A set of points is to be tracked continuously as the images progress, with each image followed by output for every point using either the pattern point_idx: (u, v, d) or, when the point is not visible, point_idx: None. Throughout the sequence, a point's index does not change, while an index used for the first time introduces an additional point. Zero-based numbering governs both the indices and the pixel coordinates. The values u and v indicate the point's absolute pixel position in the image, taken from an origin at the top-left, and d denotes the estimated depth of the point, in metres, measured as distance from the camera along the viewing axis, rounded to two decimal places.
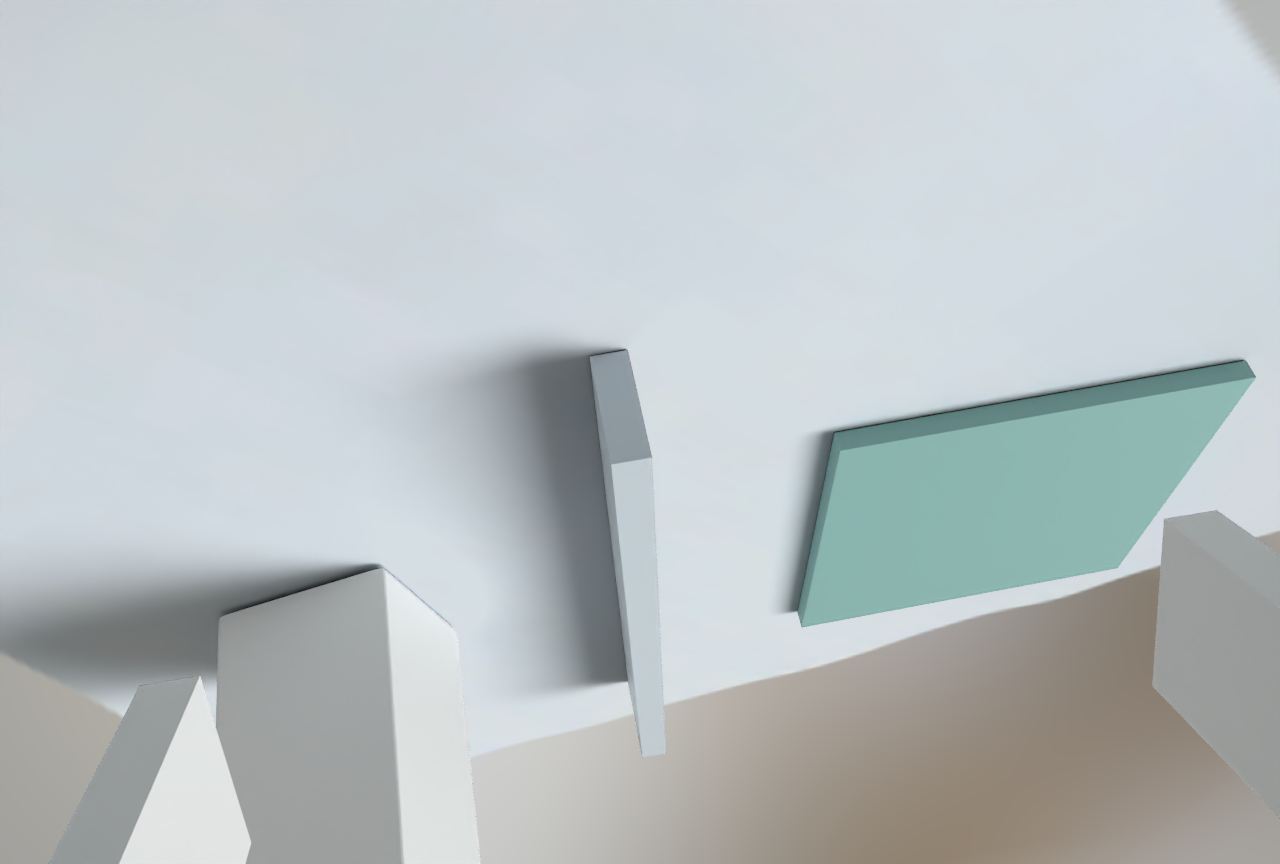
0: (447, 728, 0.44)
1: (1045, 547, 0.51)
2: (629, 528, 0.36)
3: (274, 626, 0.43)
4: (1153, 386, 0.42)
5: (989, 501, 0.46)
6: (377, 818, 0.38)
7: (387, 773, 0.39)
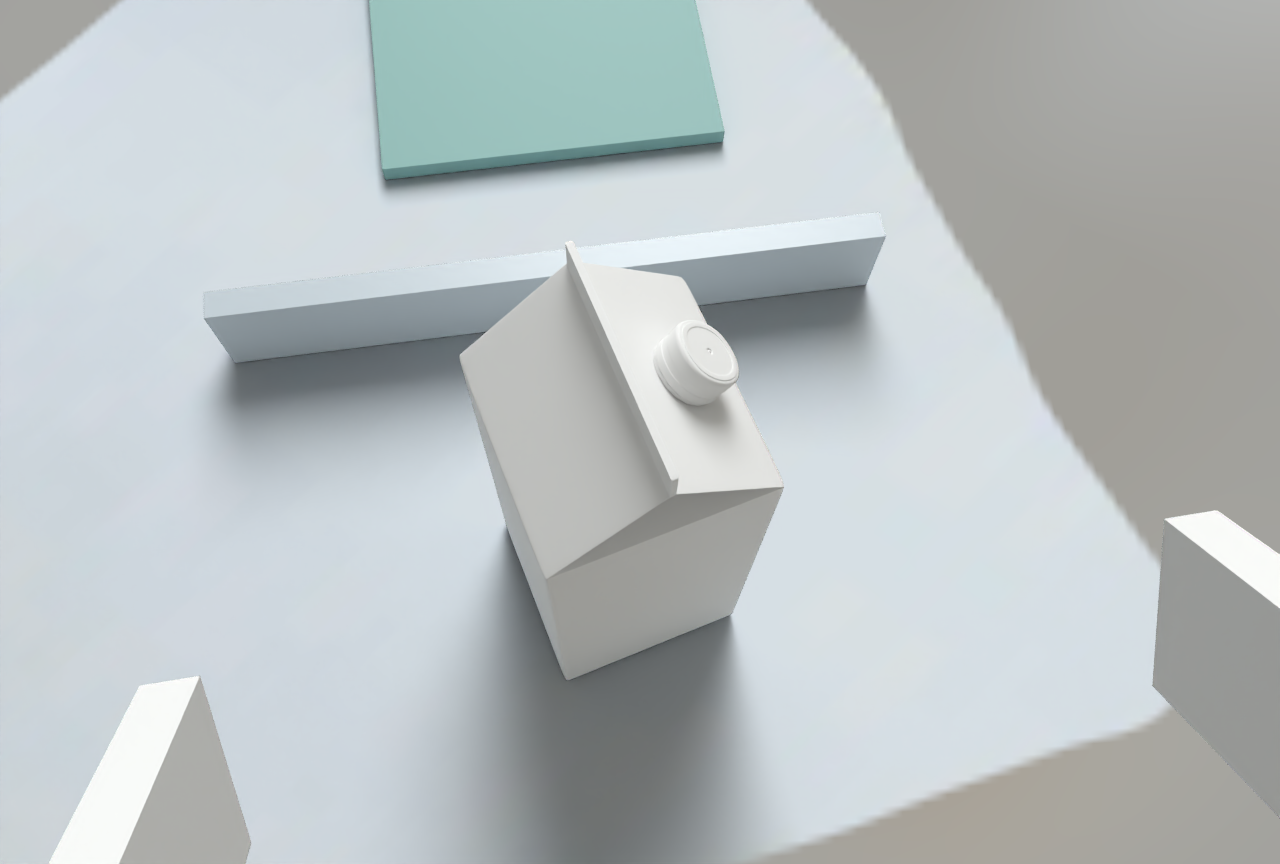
0: None
1: None
2: (305, 297, 0.45)
3: (541, 616, 0.43)
4: None
5: (502, 34, 0.55)
6: (486, 451, 0.37)
7: None
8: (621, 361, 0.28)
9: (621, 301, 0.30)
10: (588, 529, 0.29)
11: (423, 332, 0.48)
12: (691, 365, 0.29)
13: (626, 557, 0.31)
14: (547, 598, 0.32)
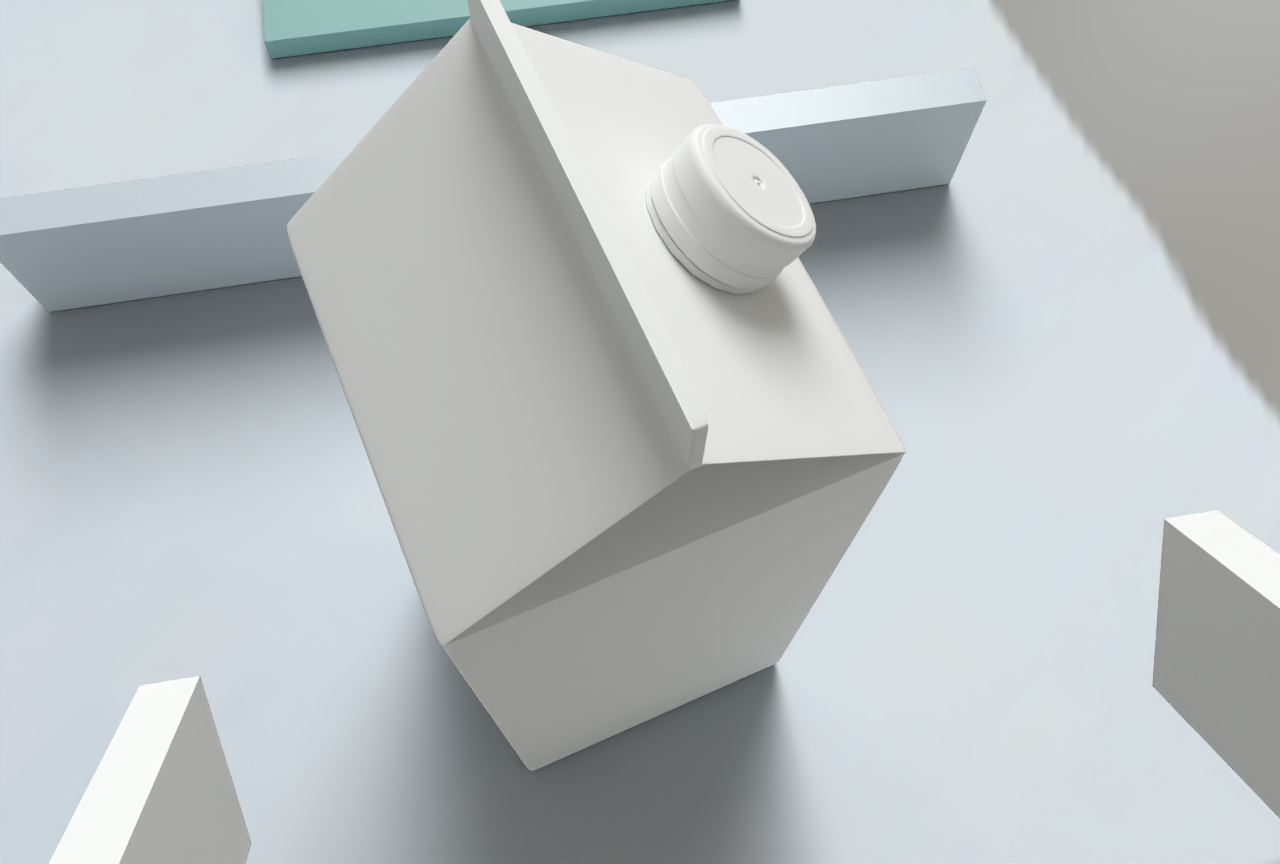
0: None
1: None
2: (131, 205, 0.30)
3: None
4: None
5: None
6: None
7: None
8: (576, 180, 0.13)
9: (580, 96, 0.15)
10: (520, 544, 0.14)
11: None
12: (724, 203, 0.14)
13: (604, 596, 0.16)
14: None
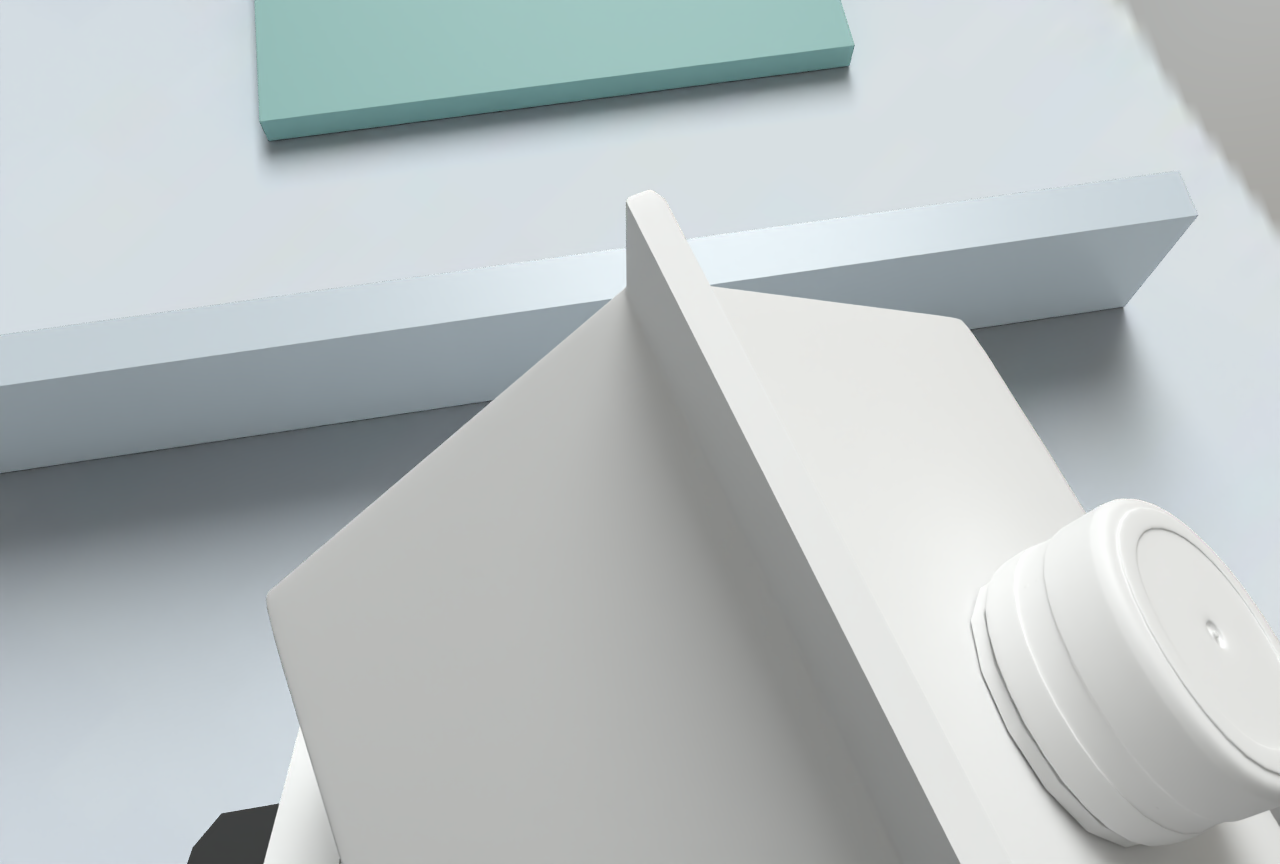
0: None
1: None
2: (78, 359, 0.23)
3: None
4: None
5: None
6: None
7: None
8: (947, 802, 0.05)
9: (830, 427, 0.08)
10: None
11: (325, 413, 0.26)
12: (1199, 735, 0.06)
13: None
14: None
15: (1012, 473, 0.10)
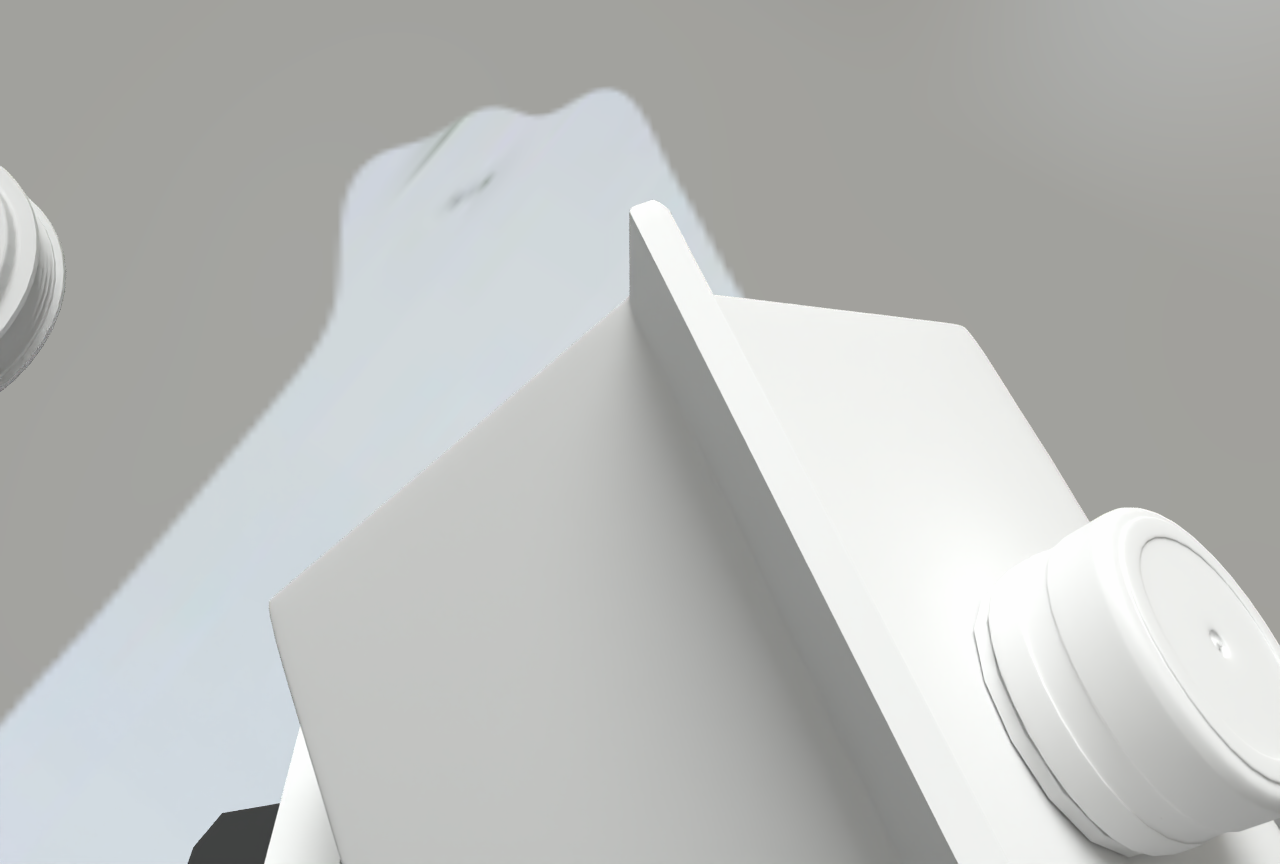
0: None
1: None
2: None
3: None
4: None
5: None
6: None
7: None
8: (951, 815, 0.05)
9: (834, 436, 0.08)
10: None
11: None
12: (1203, 747, 0.06)
13: None
14: None
15: (1015, 480, 0.09)
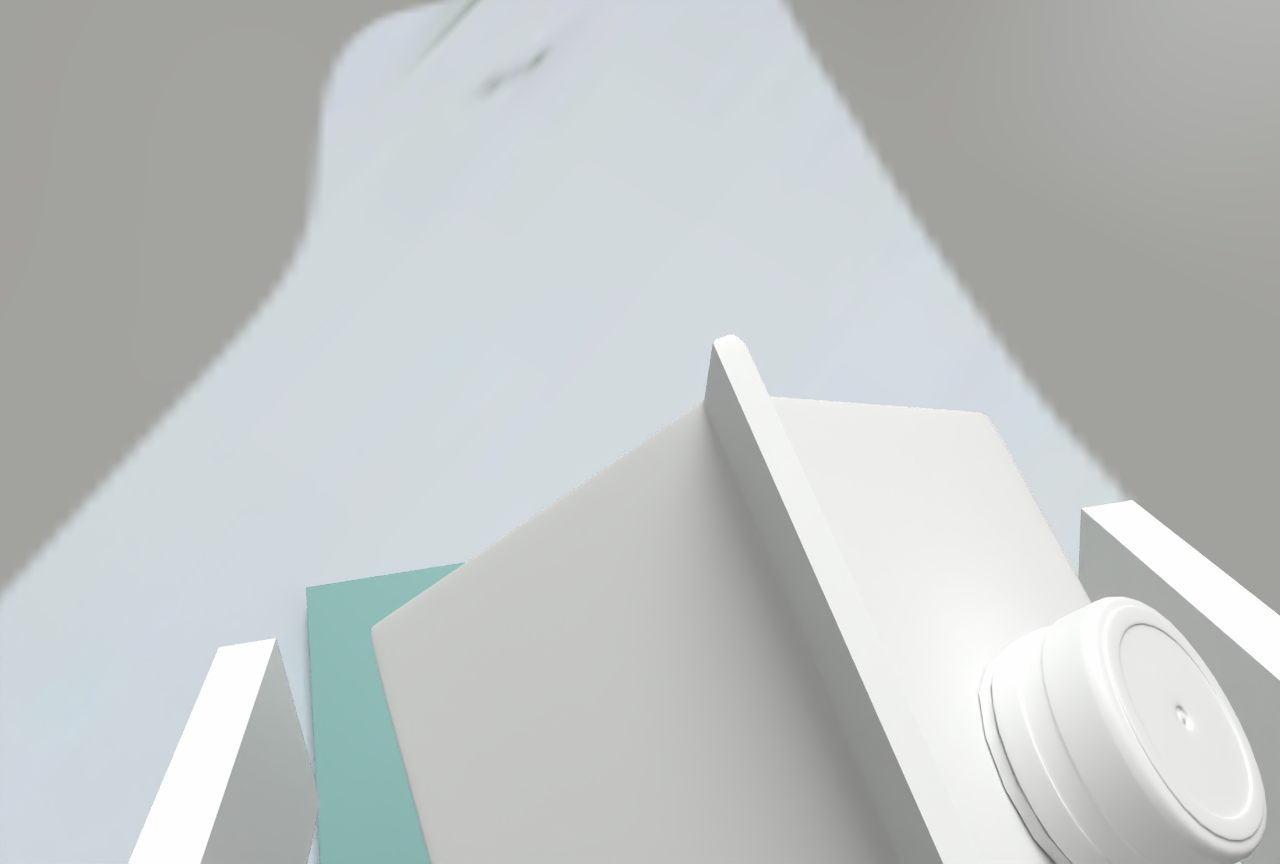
0: None
1: None
2: None
3: None
4: None
5: None
6: None
7: None
8: (952, 853, 0.07)
9: (869, 521, 0.09)
10: None
11: None
12: (1161, 805, 0.08)
13: None
14: None
15: (1022, 558, 0.11)
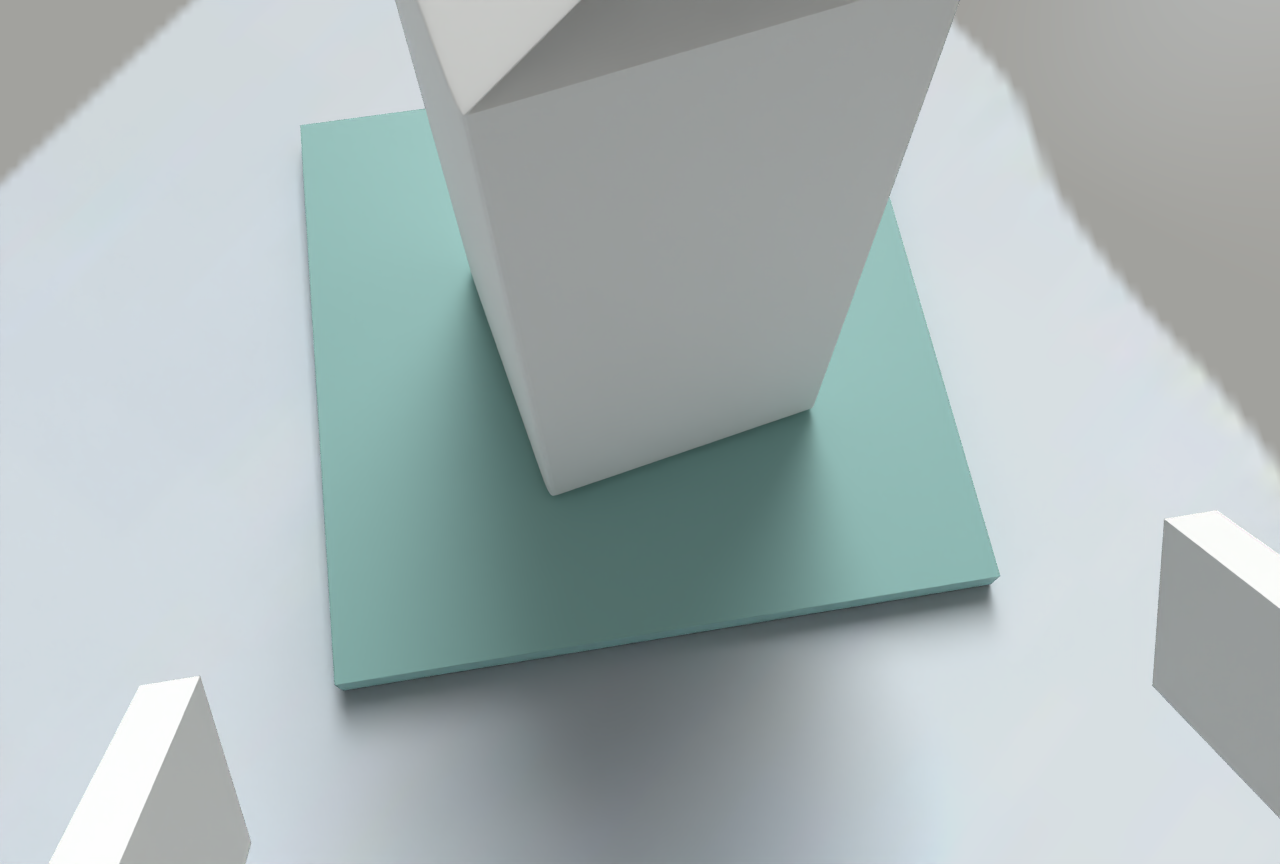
0: None
1: None
2: None
3: (514, 393, 0.27)
4: None
5: None
6: (408, 42, 0.21)
7: None
8: None
9: None
10: None
11: None
12: None
13: (638, 108, 0.15)
14: (484, 225, 0.16)
15: None
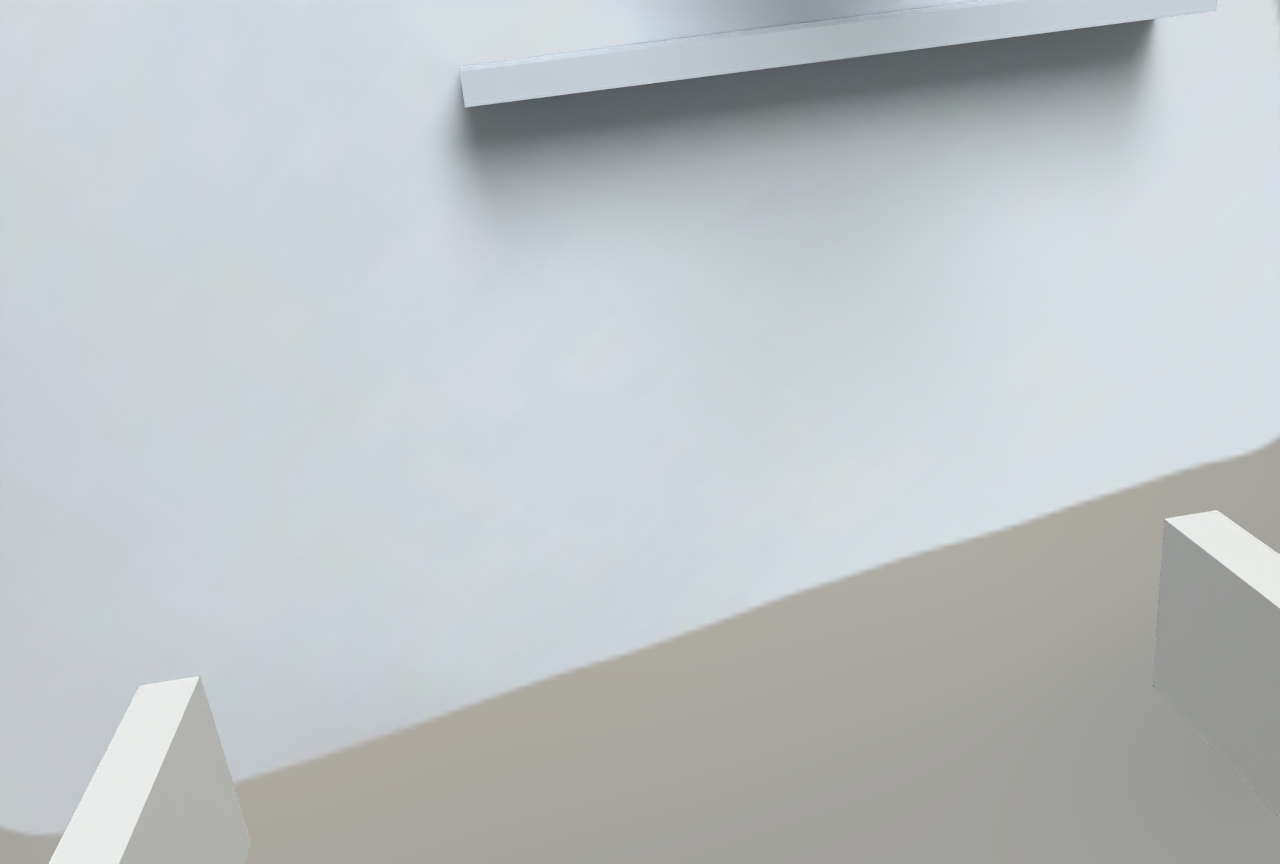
0: None
1: None
2: (576, 82, 0.40)
3: None
4: None
5: None
6: None
7: None
8: None
9: None
10: None
11: None
12: None
13: None
14: None
15: None
